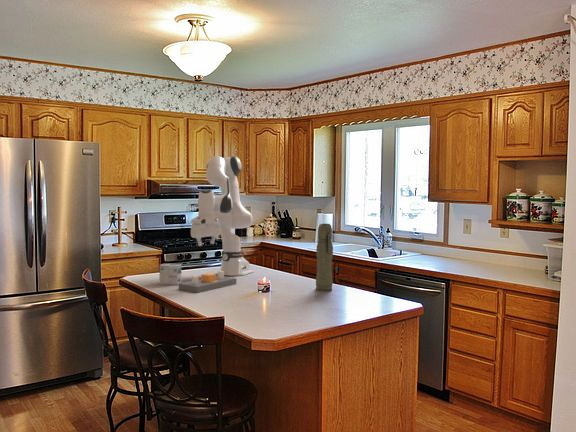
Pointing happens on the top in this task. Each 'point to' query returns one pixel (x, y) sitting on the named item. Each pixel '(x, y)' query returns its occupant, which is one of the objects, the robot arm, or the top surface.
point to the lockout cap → (208, 277)
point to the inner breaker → (220, 274)
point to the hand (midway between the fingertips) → (206, 244)
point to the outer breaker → (194, 279)
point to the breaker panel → (207, 284)
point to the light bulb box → (170, 274)
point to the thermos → (324, 258)
